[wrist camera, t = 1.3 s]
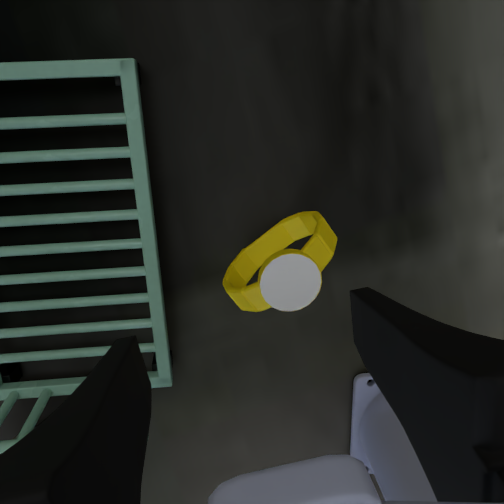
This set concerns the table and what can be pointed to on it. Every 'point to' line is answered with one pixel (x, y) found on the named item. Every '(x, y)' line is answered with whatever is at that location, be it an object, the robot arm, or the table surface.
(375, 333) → the robot arm
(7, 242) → the table surface
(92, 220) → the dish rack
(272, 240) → the watch
